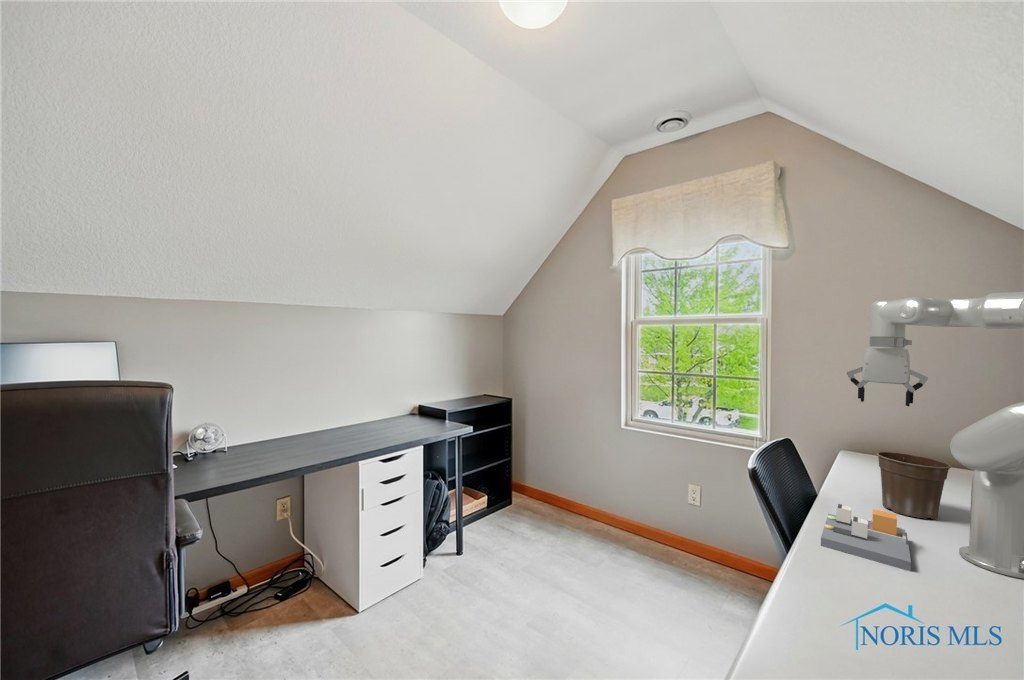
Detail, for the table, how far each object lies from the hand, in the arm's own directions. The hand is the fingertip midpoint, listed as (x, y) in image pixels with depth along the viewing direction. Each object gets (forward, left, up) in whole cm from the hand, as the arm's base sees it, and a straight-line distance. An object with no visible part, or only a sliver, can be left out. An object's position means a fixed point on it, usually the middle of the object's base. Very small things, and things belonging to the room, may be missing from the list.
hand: (884, 403), depth 119 cm
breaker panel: (-13, +18, -33) cm, 40 cm away
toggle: (-5, +17, -31) cm, 36 cm away
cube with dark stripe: (-13, +21, -31) cm, 40 cm away
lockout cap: (-12, +13, -31) cm, 36 cm away
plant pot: (+5, -16, -34) cm, 38 cm away
